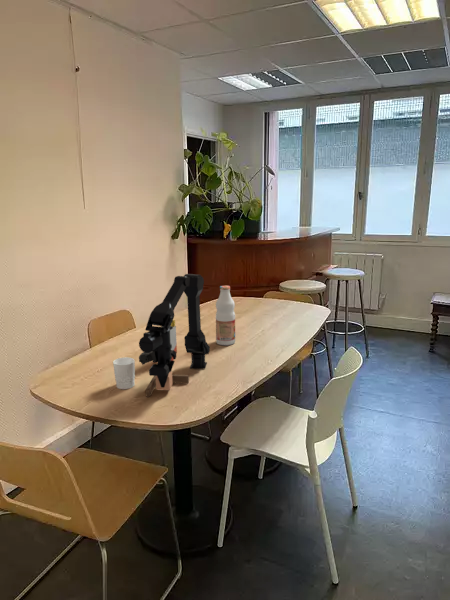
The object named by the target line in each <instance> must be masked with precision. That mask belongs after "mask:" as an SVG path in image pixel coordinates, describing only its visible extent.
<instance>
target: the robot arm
mask: <svg viewBox="0 0 450 600" xmlns="http://www.w3.org/2000/svg"><path fill="white" fill-rule="evenodd" d="M204 282H205V280H204V277H203V276H202V275H201V274H193V273H185V274H184V275H183V276H182V275H177V276H175V277H174V279H173V282H172V285H171V286H170V288H169V289H168V292H167V293H166V295H165V296H164V299H163V300H162V302H161V303H159V304H157V305H156V306H155V307H154V308H153V310H152V311H151V312H150V314H149V316H148V320H147V323H146V325H145V326H146V327H145V329H144V330H145V331H146V332H143V336H142V337H140V339H139V341H138V346H139V348H140V350H141V351H142V352H141V353H140V354H139V356H138V362H139V363H141V364H142V365H146V364H147V363H151V362H152V365H151V366H150V367H149V369H148V374H149V376H152V377H153V376H157V377H158V380H159V382H160V385H161V387H165V384H166V381H167V378H168V375H169V372H172V370H173V367H174V365H175V360H176V358H177V354H176V352H175V351H174V350H171V348H172V344H171V343H170V330H171V329H173V327H172V326H170V325H171V323H172V321H173V320H174V318H175V309H176V306H178V305H177V304H178V303H179V301H180V300H181V297H182V296H183V293H184V294H185V295H186V297H187V298H186V299H187V319H188V332H187V334H185V336H184V346H185V351H186V353H188V354H191V363H190V365H189V369H192V370H193V369H195V370H196V369H197V370H205V369H206V367H207V365H208V362H207V361H206V355H209V354H210V351H211V347H210V345H209V344H208V342H207V340H206V335H205V333H204V332H203V330H202V328H201V327H202V325H201V324H202V323H201V321H202V320H201V305H200V303H201V301H200V298H201V297H200V295H201V293H202V292H203V290H204V284H205V283H204ZM172 357H173V359H174V360H173V361H171V359H172Z"/></svg>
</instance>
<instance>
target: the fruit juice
mask: <svg viewBox="0 0 450 600" xmlns="http://www.w3.org/2000/svg"><path fill="white" fill-rule="evenodd" d="M219 291H220V293H219V296H218V298H217V300H216V302H215V307H216V312H215V342H216V344H217V345H220V346H232V345H234V344H235V343H236V312H235V308H236V304H235V300H234V299H233V298H232V295H231V292H230V291H231V286H230V285H220V286H219Z"/></svg>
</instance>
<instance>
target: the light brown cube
mask: <svg viewBox="0 0 450 600" xmlns="http://www.w3.org/2000/svg"><path fill="white" fill-rule="evenodd" d="M172 375H173V371H171V372H169V375H168V378H167V381H166V384H165V387H161V385H160V382H159V380H158V377H157V376H156V386H155V390H159V391H170V390H171V389H172V386H173V383H172Z"/></svg>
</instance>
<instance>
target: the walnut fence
mask: <svg viewBox="0 0 450 600" xmlns="http://www.w3.org/2000/svg"><path fill="white" fill-rule="evenodd" d="M189 376H190V375H188V374H172V384H187V385H188V384H189V381H190V378H189ZM155 389H156V376H152V378H151V380H150V381H149V383H148V385H147V387H146V388H145V397H147V398H150V397H151V395H152V394H153V392H154V390H155Z"/></svg>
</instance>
